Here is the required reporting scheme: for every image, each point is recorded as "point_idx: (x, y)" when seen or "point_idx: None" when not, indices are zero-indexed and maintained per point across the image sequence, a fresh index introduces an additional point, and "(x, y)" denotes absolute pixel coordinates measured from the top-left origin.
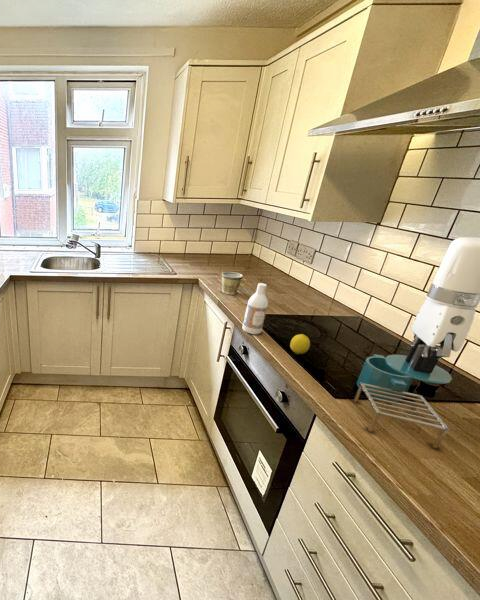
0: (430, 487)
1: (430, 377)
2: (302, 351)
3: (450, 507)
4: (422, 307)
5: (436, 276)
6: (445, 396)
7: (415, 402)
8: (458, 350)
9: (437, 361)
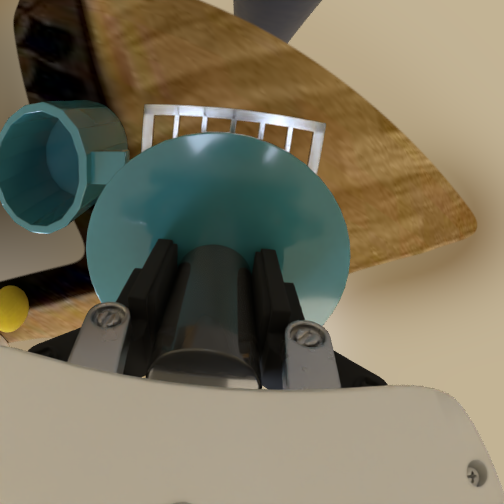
0: (410, 209)
1: (315, 268)
2: (25, 301)
3: (438, 203)
4: None
5: None
6: (63, 9)
7: (160, 115)
8: (456, 403)
9: (286, 297)
